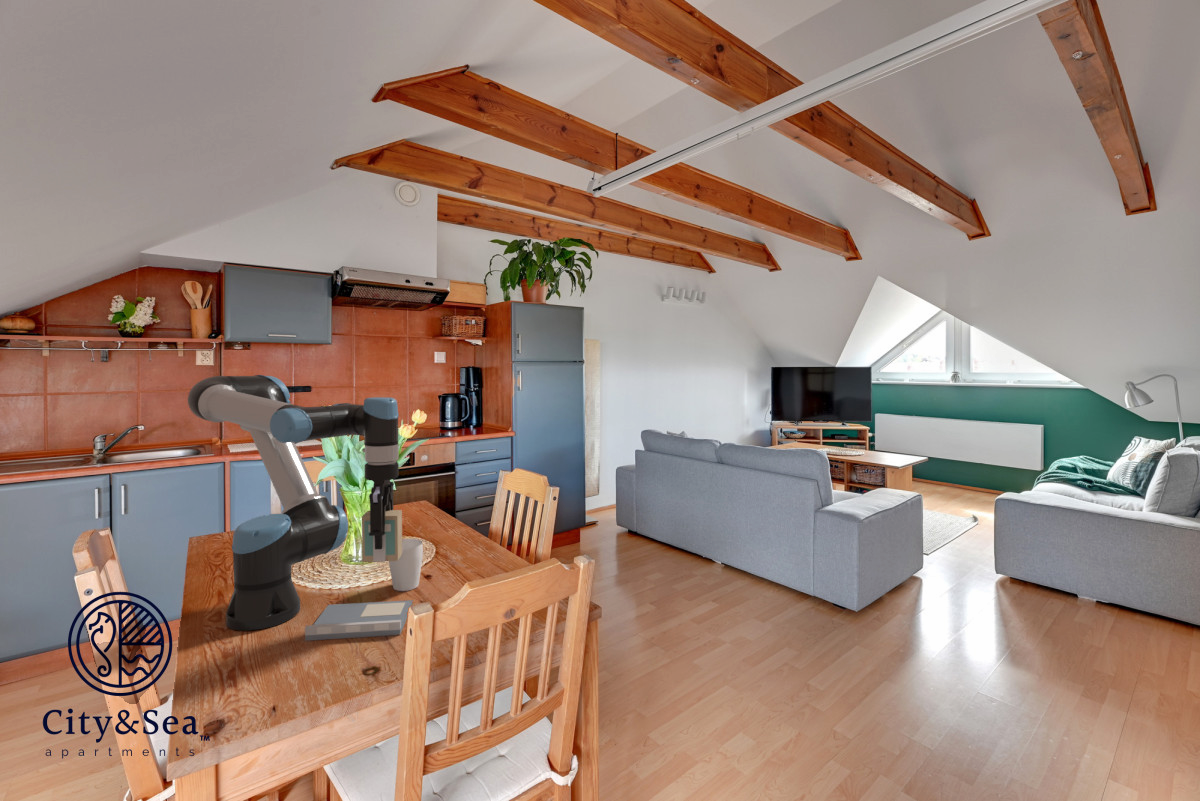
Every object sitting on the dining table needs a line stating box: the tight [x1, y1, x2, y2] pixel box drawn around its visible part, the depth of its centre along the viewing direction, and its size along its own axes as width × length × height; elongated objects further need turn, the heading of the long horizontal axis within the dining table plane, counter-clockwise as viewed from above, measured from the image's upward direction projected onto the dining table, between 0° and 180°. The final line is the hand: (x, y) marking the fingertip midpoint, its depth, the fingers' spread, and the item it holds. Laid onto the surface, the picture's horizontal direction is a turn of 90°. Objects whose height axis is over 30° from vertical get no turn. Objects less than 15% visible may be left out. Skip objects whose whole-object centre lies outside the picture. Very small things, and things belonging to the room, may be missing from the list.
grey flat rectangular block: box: [304, 599, 414, 642], centre depth 125 cm, size 20×15×3 cm
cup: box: [388, 538, 424, 592], centre depth 145 cm, size 9×9×12 cm
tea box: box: [361, 509, 403, 563], centre depth 127 cm, size 8×5×11 cm, turn 99°
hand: (382, 556), depth 128 cm, fingers closed on tea box, 5 cm apart
